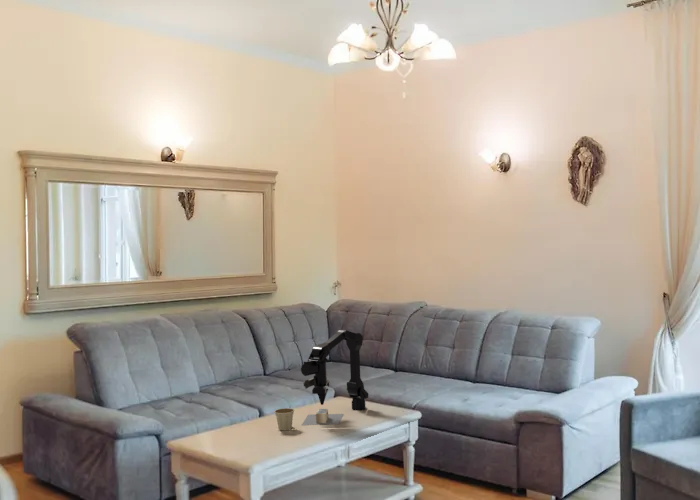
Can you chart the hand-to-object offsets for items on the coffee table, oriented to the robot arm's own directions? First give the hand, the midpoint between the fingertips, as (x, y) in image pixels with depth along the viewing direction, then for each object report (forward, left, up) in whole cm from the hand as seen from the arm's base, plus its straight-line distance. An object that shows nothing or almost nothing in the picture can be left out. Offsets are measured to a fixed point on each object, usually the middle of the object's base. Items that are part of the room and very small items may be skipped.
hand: (322, 404), depth 338 cm
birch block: (0, -4, -5) cm, 6 cm away
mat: (0, -1, -8) cm, 8 cm away
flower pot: (+16, +13, -8) cm, 22 cm away
